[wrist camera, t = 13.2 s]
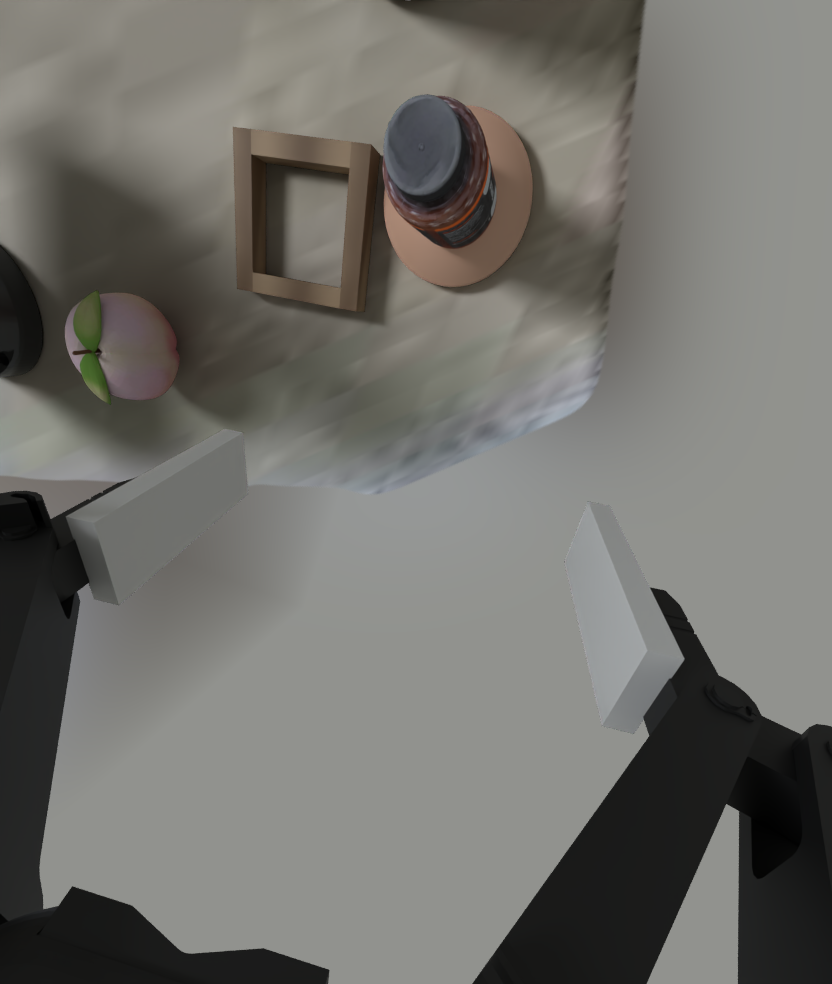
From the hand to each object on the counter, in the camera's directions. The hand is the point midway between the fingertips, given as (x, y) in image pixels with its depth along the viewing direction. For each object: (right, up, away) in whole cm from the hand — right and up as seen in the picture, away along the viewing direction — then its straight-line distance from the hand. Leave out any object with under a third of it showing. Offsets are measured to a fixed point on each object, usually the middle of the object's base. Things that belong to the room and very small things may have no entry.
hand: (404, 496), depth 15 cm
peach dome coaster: (+4, +22, +15) cm, 27 cm away
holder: (-8, +22, +18) cm, 30 cm away
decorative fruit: (-25, +15, +26) cm, 39 cm away
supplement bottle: (+4, +21, +15) cm, 26 cm away
